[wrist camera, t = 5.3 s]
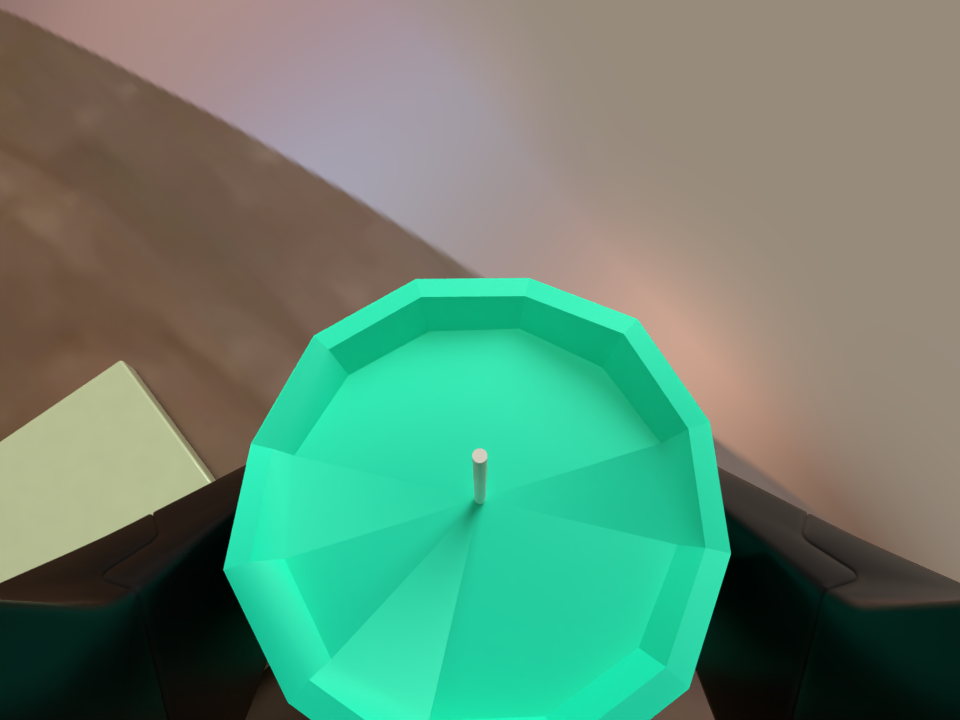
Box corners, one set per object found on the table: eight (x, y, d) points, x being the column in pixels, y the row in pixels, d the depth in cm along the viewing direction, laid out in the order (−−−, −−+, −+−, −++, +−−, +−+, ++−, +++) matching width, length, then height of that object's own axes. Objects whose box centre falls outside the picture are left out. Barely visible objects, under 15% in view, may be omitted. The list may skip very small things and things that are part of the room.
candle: (475, 425, 18) (467, 118, 7) (633, 566, 17) (927, 440, 6) (326, 577, 16) (22, 470, 6) (486, 753, 15) (501, 1099, 4)
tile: (320, 620, 16) (312, 619, 15) (-47, 953, 13) (-78, 972, 12) (134, 369, 19) (120, 358, 18) (-196, 596, 16) (-227, 594, 16)
